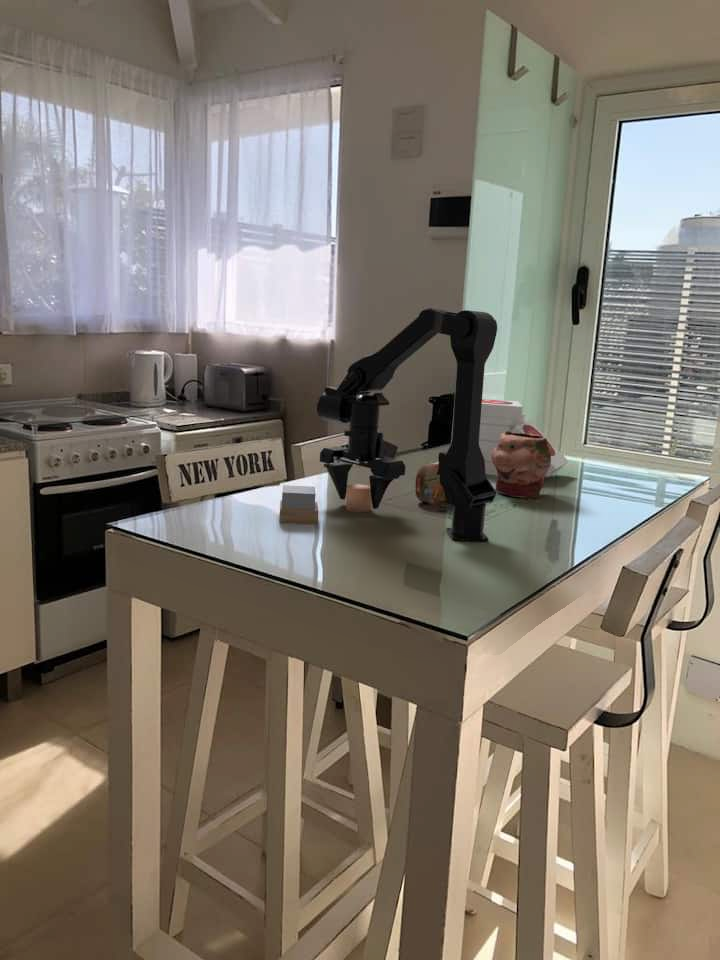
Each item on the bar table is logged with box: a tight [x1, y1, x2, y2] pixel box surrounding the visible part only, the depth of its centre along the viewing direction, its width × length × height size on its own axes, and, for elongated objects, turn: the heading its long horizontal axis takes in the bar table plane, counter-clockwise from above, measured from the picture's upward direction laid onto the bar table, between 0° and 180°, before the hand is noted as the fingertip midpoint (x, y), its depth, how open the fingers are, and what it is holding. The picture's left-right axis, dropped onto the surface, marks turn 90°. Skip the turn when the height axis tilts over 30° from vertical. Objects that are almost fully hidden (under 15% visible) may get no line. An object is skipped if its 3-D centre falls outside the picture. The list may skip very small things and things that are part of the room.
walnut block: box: [278, 499, 320, 526], centre depth 147 cm, size 7×7×3 cm
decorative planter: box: [491, 431, 551, 499], centre depth 183 cm, size 20×12×14 cm, turn 142°
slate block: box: [281, 484, 316, 510], centre depth 147 cm, size 6×6×3 cm
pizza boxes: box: [479, 398, 569, 478], centre depth 209 cm, size 19×30×18 cm, turn 63°
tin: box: [415, 461, 446, 505], centre depth 170 cm, size 15×3×8 cm, turn 143°
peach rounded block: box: [345, 483, 372, 513], centre depth 158 cm, size 5×5×4 cm
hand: (358, 503), depth 158 cm, fingers open, 9 cm apart
